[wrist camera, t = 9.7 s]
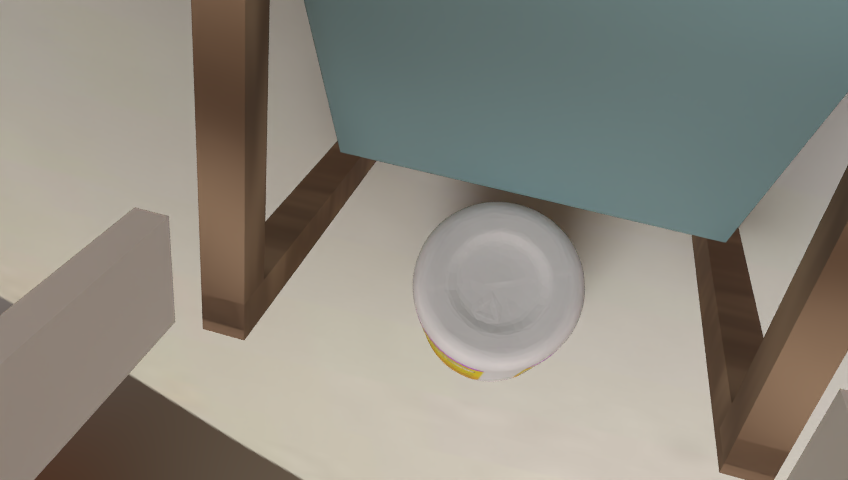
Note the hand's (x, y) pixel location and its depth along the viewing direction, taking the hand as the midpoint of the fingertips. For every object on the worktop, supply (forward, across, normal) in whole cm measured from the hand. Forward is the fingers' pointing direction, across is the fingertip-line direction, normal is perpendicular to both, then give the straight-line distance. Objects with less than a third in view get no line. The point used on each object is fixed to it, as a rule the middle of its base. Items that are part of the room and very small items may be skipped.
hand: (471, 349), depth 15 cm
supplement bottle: (+12, 0, -6) cm, 13 cm away
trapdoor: (+11, 0, +3) cm, 11 cm away
